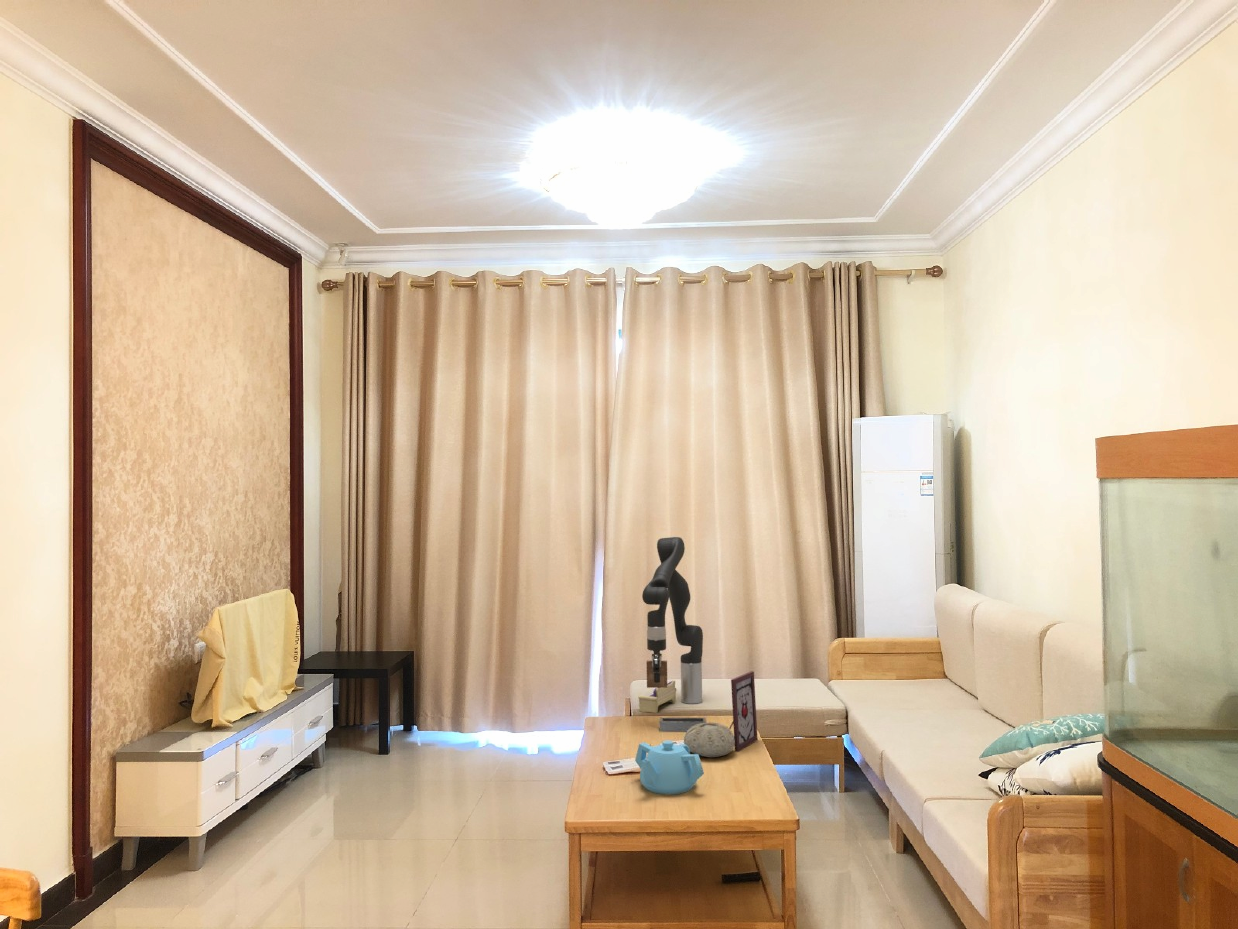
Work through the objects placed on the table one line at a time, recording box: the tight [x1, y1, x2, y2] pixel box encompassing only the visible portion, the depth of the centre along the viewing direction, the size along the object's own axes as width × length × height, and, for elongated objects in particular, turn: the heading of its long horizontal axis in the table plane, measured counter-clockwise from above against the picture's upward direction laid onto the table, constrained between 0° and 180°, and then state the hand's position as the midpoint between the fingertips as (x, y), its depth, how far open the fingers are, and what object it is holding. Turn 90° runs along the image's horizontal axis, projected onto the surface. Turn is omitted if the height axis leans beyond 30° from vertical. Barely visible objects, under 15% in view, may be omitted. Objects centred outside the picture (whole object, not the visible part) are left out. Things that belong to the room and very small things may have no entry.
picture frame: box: [728, 670, 758, 753], centre depth 307 cm, size 17×10×25 cm, turn 146°
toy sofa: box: [638, 680, 677, 714], centre depth 362 cm, size 21×9×10 cm, turn 152°
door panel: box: [646, 660, 668, 689], centre depth 334 cm, size 3×8×10 cm, turn 85°
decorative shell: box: [683, 721, 735, 758], centre depth 295 cm, size 18×18×10 cm
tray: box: [658, 716, 707, 733], centre depth 327 cm, size 7×18×4 cm, turn 86°
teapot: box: [634, 740, 705, 795], centre depth 263 cm, size 19×19×14 cm
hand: (657, 681), depth 334 cm, fingers closed on door panel, 3 cm apart
